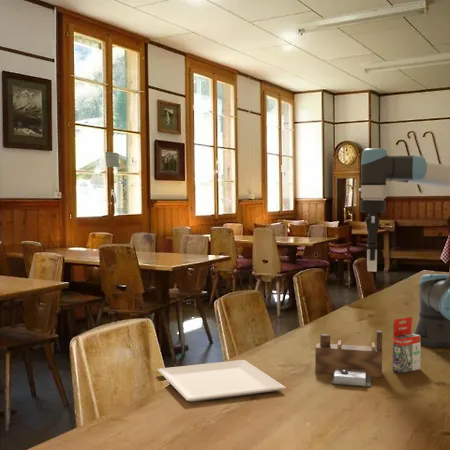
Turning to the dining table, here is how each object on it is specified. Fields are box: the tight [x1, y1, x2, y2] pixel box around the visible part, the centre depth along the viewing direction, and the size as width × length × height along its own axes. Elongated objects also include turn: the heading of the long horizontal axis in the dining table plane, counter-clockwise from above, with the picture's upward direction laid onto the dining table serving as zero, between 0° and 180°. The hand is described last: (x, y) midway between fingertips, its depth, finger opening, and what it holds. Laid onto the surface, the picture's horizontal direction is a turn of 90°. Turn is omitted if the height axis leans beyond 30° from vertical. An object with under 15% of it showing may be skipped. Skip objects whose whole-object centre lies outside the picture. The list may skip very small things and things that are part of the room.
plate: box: [157, 359, 286, 402], centre depth 161 cm, size 26×26×2 cm
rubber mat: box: [331, 373, 372, 388], centre depth 164 cm, size 10×8×1 cm
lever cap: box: [334, 368, 366, 387], centre depth 163 cm, size 8×7×3 cm
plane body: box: [314, 329, 383, 378], centre depth 172 cm, size 18×5×12 cm, turn 77°
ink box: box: [391, 316, 422, 374], centre depth 174 cm, size 4×8×15 cm, turn 124°
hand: (371, 268), depth 190 cm, fingers open, 13 cm apart
